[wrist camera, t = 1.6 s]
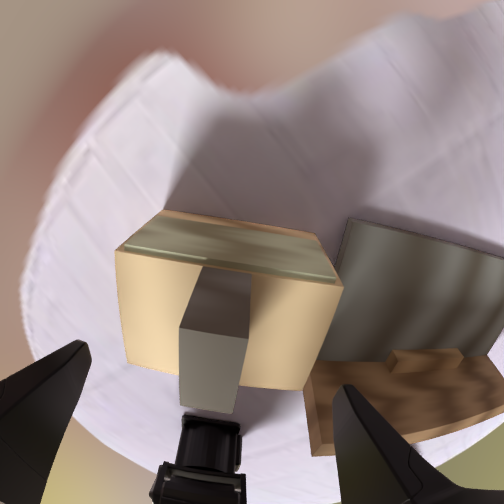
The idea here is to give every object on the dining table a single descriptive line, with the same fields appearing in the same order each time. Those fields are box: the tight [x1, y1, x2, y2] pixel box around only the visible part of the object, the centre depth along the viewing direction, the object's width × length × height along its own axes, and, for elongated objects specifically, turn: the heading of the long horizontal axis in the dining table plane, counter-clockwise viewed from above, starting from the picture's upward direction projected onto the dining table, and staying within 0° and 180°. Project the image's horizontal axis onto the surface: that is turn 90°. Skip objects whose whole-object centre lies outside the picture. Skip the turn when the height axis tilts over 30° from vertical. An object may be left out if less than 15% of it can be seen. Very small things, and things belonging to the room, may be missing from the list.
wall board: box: [303, 218, 504, 457], centre depth 16 cm, size 24×14×9 cm, turn 81°
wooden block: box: [115, 210, 344, 414], centre depth 14 cm, size 10×7×11 cm
